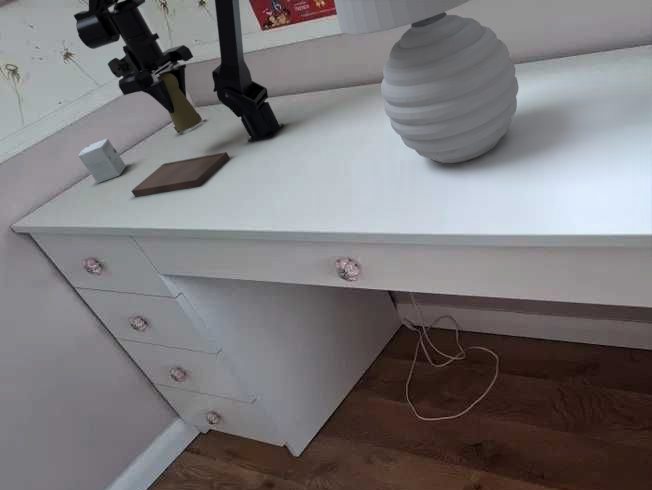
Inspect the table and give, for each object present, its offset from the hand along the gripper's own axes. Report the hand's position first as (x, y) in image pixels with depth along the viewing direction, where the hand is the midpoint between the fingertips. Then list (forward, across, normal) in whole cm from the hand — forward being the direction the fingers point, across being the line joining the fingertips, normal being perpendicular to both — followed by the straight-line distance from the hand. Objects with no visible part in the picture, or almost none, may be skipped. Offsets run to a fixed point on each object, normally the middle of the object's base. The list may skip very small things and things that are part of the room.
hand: (179, 108), depth 143 cm
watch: (+10, -18, -17) cm, 27 cm away
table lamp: (+10, +21, +71) cm, 75 cm away
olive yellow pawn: (+4, 0, 0) cm, 4 cm away
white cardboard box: (+10, +4, -26) cm, 28 cm away
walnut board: (+10, +13, +3) cm, 17 cm away
